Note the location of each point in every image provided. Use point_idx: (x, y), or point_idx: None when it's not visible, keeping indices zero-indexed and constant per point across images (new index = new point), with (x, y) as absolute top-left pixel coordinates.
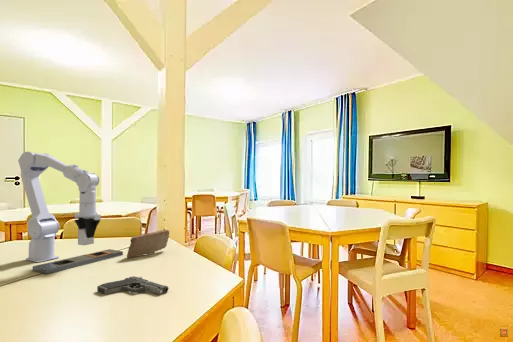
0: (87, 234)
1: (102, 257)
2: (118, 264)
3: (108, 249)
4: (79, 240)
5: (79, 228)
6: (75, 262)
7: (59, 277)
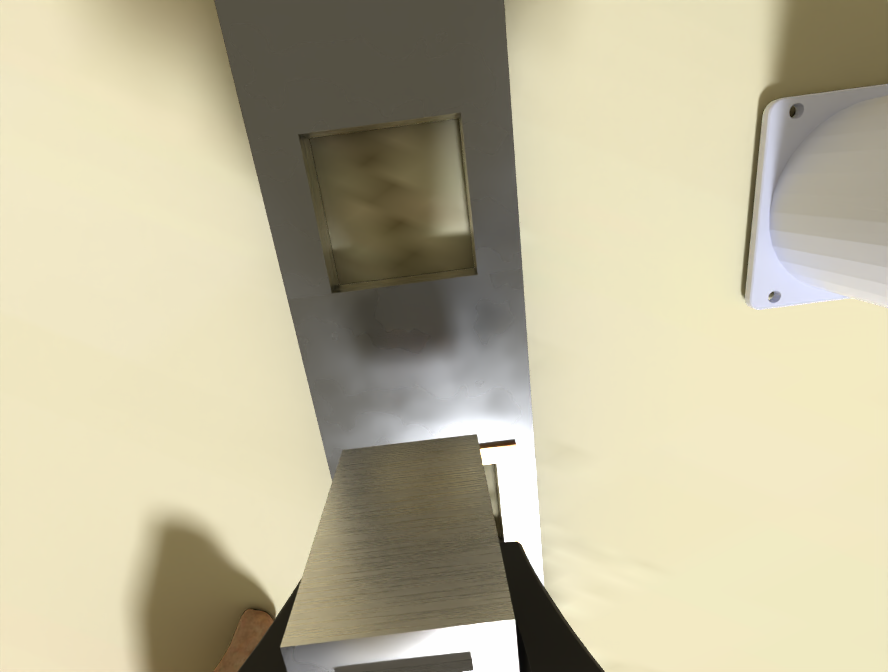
0: None
1: None
2: (111, 498)
3: None
4: (444, 472)
5: (553, 662)
6: (296, 281)
7: (13, 23)
